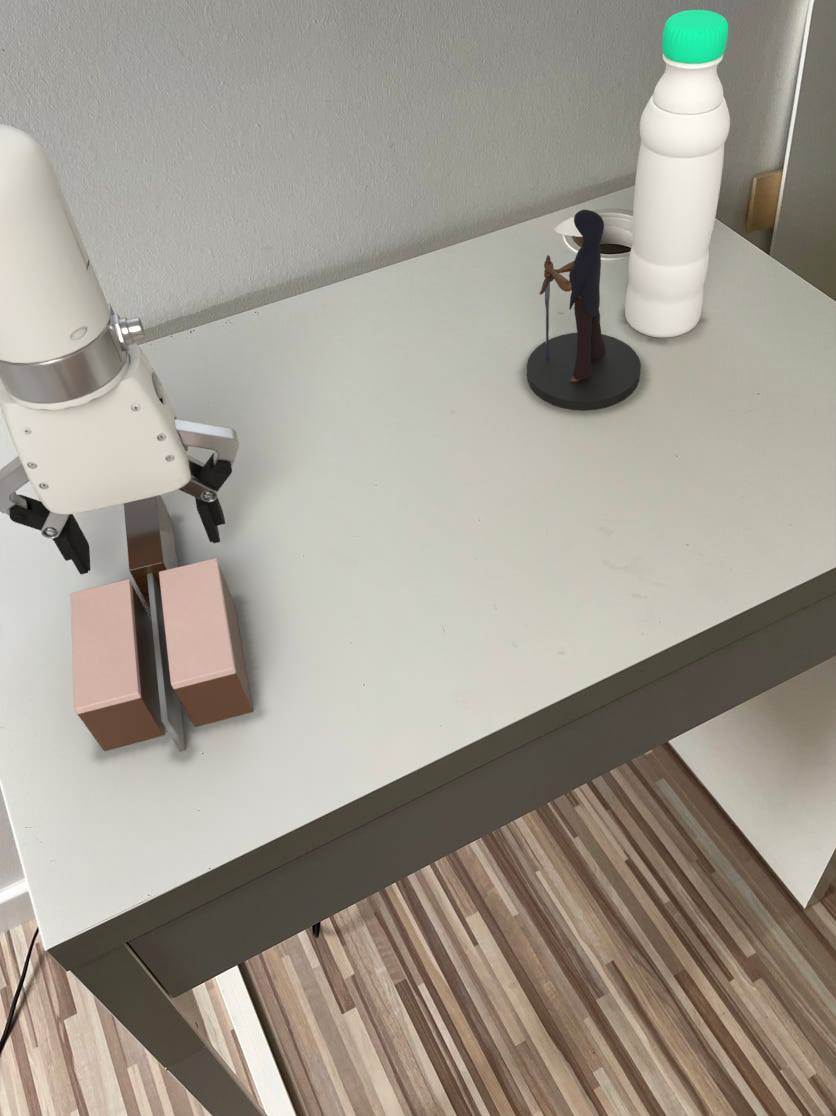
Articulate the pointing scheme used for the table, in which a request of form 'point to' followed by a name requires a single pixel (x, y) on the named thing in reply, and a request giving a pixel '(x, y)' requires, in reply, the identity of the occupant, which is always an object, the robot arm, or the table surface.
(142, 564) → the knife
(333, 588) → the table surface
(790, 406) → the table surface
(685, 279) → the water bottle
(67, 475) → the robot arm
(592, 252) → the figurine
